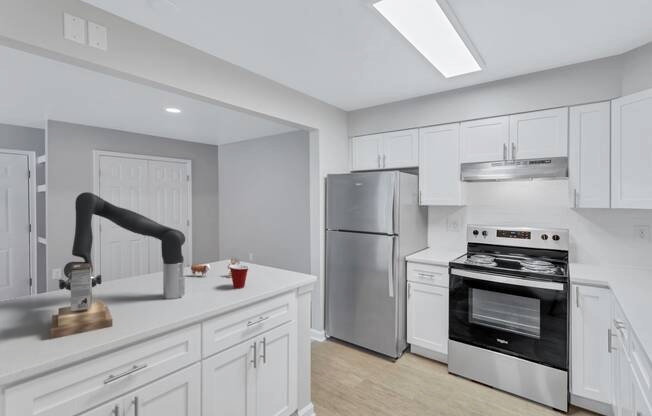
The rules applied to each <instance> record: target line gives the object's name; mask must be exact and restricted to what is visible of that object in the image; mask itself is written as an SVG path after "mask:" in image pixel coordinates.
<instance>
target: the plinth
mask: <svg viewBox="0 0 652 416" xmlns="http://www.w3.org/2000/svg"><path fill="white" fill-rule="evenodd" d="M111 327H113V316H112V314H111V311H110V308H109V306H108V305H104V303H103V301H94V302H92V306H91V308H90V309H83V310H77V311H71V305H70V306H65V307H59V308H58V313H57V314H53V315H51V326H50V339H51V340H53V339H58V338H62V337H68V336H72V335H77V334H82V333H86V332H91V331H97V330H102V329H106V328H111Z"/></svg>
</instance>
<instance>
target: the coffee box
mask: <svg viewBox="0 0 652 416" xmlns="http://www.w3.org/2000/svg"><path fill="white" fill-rule="evenodd" d="M92 267H93V264H92V265H91V263H86V264H85V263H83V264H72V266H71V269H70V279H71V290H70V306H71V311H77V310H83V309H90V308H91V306H92V303H93V287H92V276H93V275H92V274H93V272H92Z"/></svg>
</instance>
